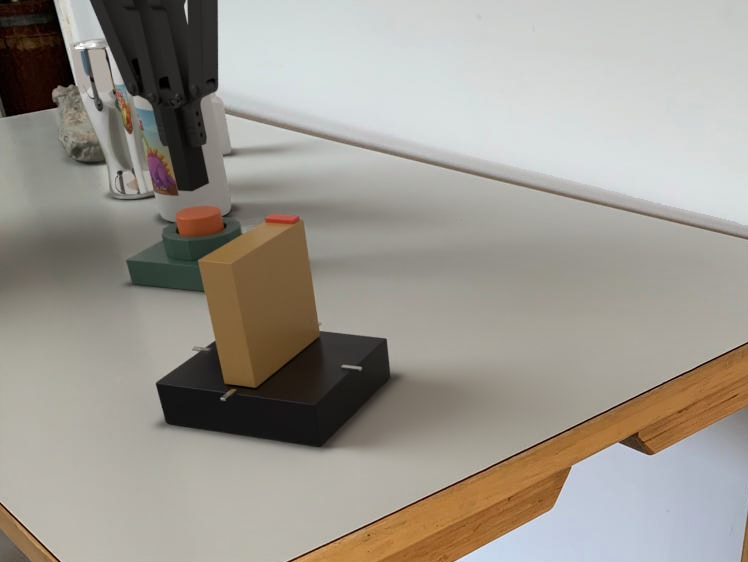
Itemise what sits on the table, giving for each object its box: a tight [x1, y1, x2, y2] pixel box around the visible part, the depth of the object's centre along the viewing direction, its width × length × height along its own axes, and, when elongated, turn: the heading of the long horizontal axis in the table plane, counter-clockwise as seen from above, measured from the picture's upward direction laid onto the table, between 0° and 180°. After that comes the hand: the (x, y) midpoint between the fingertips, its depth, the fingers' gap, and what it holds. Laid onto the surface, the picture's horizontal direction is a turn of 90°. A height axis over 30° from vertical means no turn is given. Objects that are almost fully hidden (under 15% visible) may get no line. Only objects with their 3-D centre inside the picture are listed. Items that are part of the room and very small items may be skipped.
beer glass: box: [69, 37, 155, 200], centre depth 109 cm, size 7×7×15 cm
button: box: [175, 206, 224, 236], centre depth 88 cm, size 4×4×2 cm
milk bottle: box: [133, 94, 232, 223], centre depth 99 cm, size 8×8×20 cm
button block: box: [125, 216, 243, 292], centre depth 89 cm, size 11×9×4 cm
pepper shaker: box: [210, 92, 232, 156], centre depth 124 cm, size 4×4×10 cm
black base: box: [155, 321, 391, 448], centre depth 68 cm, size 13×13×3 cm
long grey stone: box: [51, 84, 106, 163], centre depth 136 cm, size 35×5×10 cm
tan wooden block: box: [198, 213, 321, 388], centre depth 65 cm, size 9×2×8 cm, turn 159°
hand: (193, 186), depth 86 cm, fingers closed
